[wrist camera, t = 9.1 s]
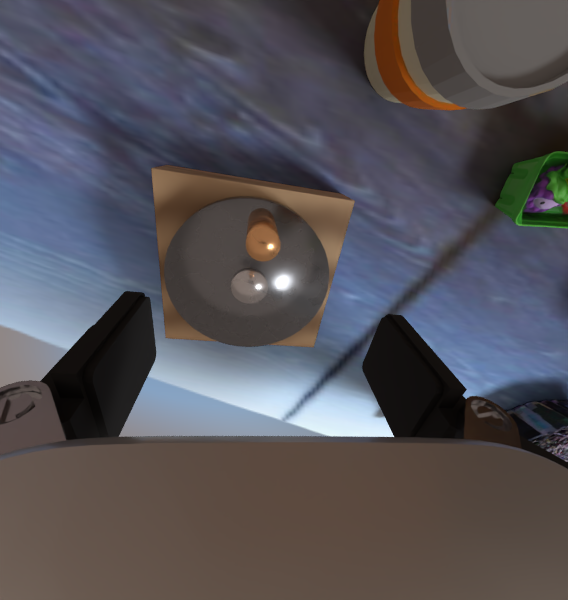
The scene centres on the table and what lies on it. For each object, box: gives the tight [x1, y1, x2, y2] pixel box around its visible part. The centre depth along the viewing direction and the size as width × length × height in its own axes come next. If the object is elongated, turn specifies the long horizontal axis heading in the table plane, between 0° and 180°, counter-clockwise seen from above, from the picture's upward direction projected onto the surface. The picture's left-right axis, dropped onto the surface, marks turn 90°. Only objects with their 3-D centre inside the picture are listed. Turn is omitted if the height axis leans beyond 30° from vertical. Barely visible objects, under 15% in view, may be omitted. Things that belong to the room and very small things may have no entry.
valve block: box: [151, 165, 355, 347], centre depth 32 cm, size 20×20×5 cm
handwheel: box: [164, 196, 329, 347], centre depth 26 cm, size 18×18×9 cm
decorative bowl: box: [507, 400, 568, 462], centre depth 60 cm, size 26×28×10 cm
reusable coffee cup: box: [364, 0, 568, 110], centre depth 18 cm, size 13×12×15 cm
